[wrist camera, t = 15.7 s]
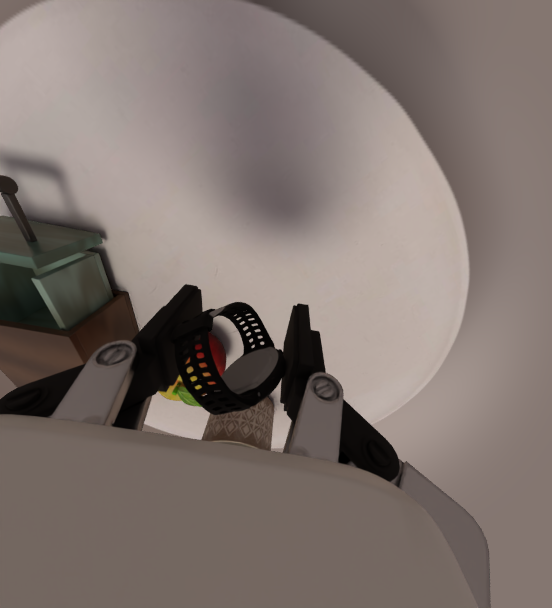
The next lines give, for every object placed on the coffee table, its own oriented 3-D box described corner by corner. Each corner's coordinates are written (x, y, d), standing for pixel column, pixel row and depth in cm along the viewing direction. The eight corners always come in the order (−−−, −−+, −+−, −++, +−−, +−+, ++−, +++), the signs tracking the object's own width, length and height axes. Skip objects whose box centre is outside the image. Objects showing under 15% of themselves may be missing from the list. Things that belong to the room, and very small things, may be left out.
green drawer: (-30, 156, 21) (-174, 152, 14) (82, 178, 21) (-10, 184, 15) (50, 301, 31) (-13, 336, 25) (125, 314, 32) (82, 352, 25)
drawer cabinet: (41, 276, 30) (-50, 316, 22) (127, 292, 30) (68, 337, 22) (77, 342, 38) (18, 389, 30) (145, 353, 38) (106, 403, 30)
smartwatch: (225, 348, 13) (194, 433, 9) (199, 276, 10) (134, 351, 6) (290, 346, 13) (287, 435, 8) (280, 269, 10) (270, 347, 6)
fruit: (186, 305, 31) (146, 356, 23) (244, 341, 34) (229, 397, 26) (160, 342, 36) (120, 395, 28) (213, 370, 39) (191, 425, 31)
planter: (263, 421, 49) (256, 476, 40) (211, 407, 47) (193, 461, 38) (283, 394, 42) (280, 453, 33) (224, 376, 40) (204, 433, 31)
